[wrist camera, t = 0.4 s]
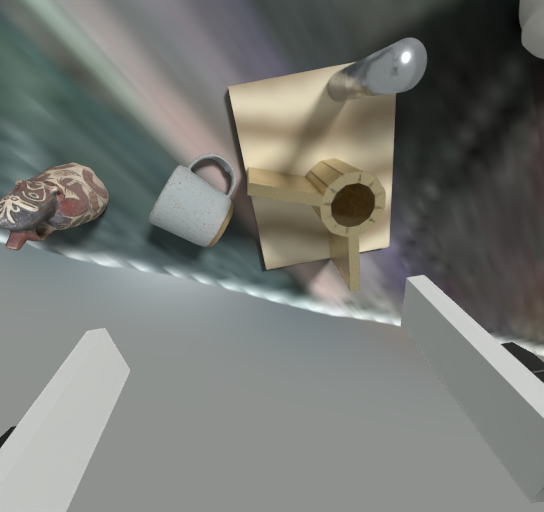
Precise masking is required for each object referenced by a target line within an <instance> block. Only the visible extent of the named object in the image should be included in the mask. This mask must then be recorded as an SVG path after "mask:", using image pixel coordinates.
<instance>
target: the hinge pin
mask: <svg viewBox="0 0 544 512" xmlns="http://www.w3.org/2000/svg"><path fill="white" fill-rule="evenodd" d="M426 65H427V53H426V50H425V47H424V45H423V44H422V43H421V42H420V41H419V40H417V39H415V38H405V39H402V40H400V41H398V42H396V43H394V44H392V45H390V46H388V47H386V48H384V49H382V50H380V51H378V52H376V53H374V54H371V55H369V56H367V57H365V58H363V59H361V60H359V61H357V62H355V63H353V64H351V65H349V66H347V67H345V68H343V69H341V70H339V71H337V72H335V73H334V74H333V75H332V76H331V77H330V79H329V82H328V86H327V90H328V94H329V96H330V98H331V99H333V100H334V101H337V102H341V101H348V100H354V99H361V98H367V97H374V96H380V95H387V94H393V93H400V92H405V91H408V90H410V89H412V88H413V87H414V86H415V85H416V84H417V83H418V82H419V81H420V80H421V78H422V76H423V74H424V72H425V69H426Z"/></svg>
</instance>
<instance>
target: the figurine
mask: <svg viewBox="0 0 544 512" xmlns="http://www.w3.org/2000/svg"><path fill="white" fill-rule="evenodd" d="M15 184H16V185H17V187H16V188H14V189H13V190H12V191H11V192H9V193H8V194H7V195H6V196H5V197H3V198H2V199H1V200H0V228H3V229H7V230H10V232H11V233H10V236H9V239H8V241H7V243H6V245H5V246H6V248H8V249H10V250H19V249H20V248H21V247H22V246H23V245H24V243H25V242H26V241H27V240H30V241H42V240H44V239H45V238H46V237H48V236H49V235H50V234H51V233H52V232H53V231H54V230H61V229H67V228H71V227H75V226H79V225H81V224H84V223H87V222H90V221H92V220H94V219H96V218H97V217H98V216H100V215H101V214H102V213H103V211H104V210H105V208H106V206H107V204H108V201H109V195H108V191H107V190H106V188H105V186H104V184H103V183H102V182H101V181H100V179H99V178H98V177H96V175H95V173H94V172H93V171H92V170H91V169H90V168H88V167H84V166H81V165H79V164H77V163H70V164H66V165H61V166H57V167H52V168H49V169H46V170H45V171H44V172H43V173H41V174H40V175H38V176H36V177H34V178H31V179H29V180H27V181H23V180H18V181H16V182H15Z"/></svg>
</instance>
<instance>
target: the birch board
mask: <svg viewBox="0 0 544 512" xmlns="http://www.w3.org/2000/svg"><path fill="white" fill-rule="evenodd" d="M354 63H355V62H354ZM351 64H353V63H348V64H343V65H338V66H333V67H328V68H323V69H317V70H312V71H307V72H302V73H297V74H292V75H286V76H281V77H276V78H271V79H266V80H261V81H256V82H250V83H245V84H240V85H235V86H230V87H228V89H229V94H230V99H231V103H232V108H233V113H234V118H235V122H236V127H237V132H238V137H239V142H240V146H241V151H242V156H243V161H244V165H245V170H246V175H248V167H252V168H258V169H264V170H269V171H275V172H281V173H287V174H292V175H298V176H304V177H306V176H307V174H308V172H309V171H310V169H311V168H312V167H314V166H315V165H316V164H317V163H318V162H320V161H321V160H326V159H332V158H336V159H339V160H341V161H344V162H346V163H348V164H350V165H352V166H355V167H357V168H359V169H361V170H363V171H365V172H367V173H369V174H371V175H374V176H376V177H377V178H378V179H379V181H380V182H381V184H382V186H383V187H384V189H385V192H386V201H385V210H384V211H383V213H382V215H381V217H380V218H379V220H378V222H377V223H375V225H374V226H373V227H371V228H370V229H368V230H367V231H366V232H364V233H363V234H362V233H361V234H360V235H359V252H364V251H369V250H374V249H380V248H385V247H389V235H390V213H391V192H392V170H393V149H394V127H395V106H396V93H393V94H387V95H380V96H374V97H367V98H361V99H354V100H348V101H341V102H337V101H334V100H333V99H331V98H330V96H329V94H328V90H327V86H328V82H329V79H330V77H331V76H332V75H333V74H334V73H335V72H337V71H339V70H341V69H343V68H345V67H347V66H349V65H351ZM346 187H347V186H345V187H343V188H342V189H341V190H339V191H338V192H337V193H336V194H335V197H334V199H333V201H332V202H335V201H336V200H337V199H339V198H340V197H341V196H342V195H343V193H344V191H345V189H346ZM251 199H252V203H253V208H254V213H255V218H256V222H257V227H258V232H259V237H260V241H261V246H262V251H263V256H264V260H265V265H266V270H268V269H274V268H279V267H284V266H290V265H295V264H300V263H306V262H311V261H316V260H321V259H327V258H330V249H329V235H328V228H327V227H326V226H325V224H324V223H323V222H322V220H321V219H320V218H319V216H318V215H317V213H316V212H315V211H314V209H313V208H312V206H311V205H307V204H301V203H294V202H288V201H282V200H275V199H269V198H263V197H256V196H251Z"/></svg>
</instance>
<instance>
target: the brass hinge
mask: <svg viewBox="0 0 544 512" xmlns="http://www.w3.org/2000/svg"><path fill="white" fill-rule="evenodd" d="M345 186H347V187H346V189H345V191H344V193H343V195H342V196H341V197H340V198H339V199H337V200H336V201H335V202H332V201H333V199H334V197H335V194H336V193H337V192H338V191H339V190H341V189H342V188H343V187H345ZM247 195H250V196H256V197H263V198H269V199H275V200H282V201H288V202H294V203H301V204H307V205H311V206H312V208H313V209H314V211H315V212H316V213H317V215H318V216H319V218H320V219H321V220H322V222H323V223H324V224H325V226H326V227H327V228H328V235H329V249H330V258H331V260H332V261H333V263H334V265H335V266H336V268H337V270H338V272H339V273H340V275H341V277H342V278H343V280H344V282H345V284H346V285H347V287H348V289H349V290H350V292H352V291H357V290H360V258H359V235H360V234H361V233H362V234H363V233H364V232H366V231H367V230H368V229H370V228H371V227H373V226H374V225H375V223H377V222H378V220H379V218H380V217H381V215H382V213H383V211H384V210H385V201H386V192H385V189H384V187H383V186H382V184H381V182H380V181H379V179H378V178H377V177H376V176H374V175H371V174H369V173H367V172H365V171H363V170H361V169H359V168H357V167H355V166H352V165H350V164H348V163H346V162H344V161H341V160H339V159H336V158H332V159H326V160H321V161H320V162H318V163H317V164H316V165H315V166H314V167H312V168H311V169H310V171H309V172H308V174H307V176H306V177H304V176H298V175H292V174H287V173H281V172H275V171H269V170H264V169H258V168H252V167H248V175H247Z"/></svg>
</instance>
